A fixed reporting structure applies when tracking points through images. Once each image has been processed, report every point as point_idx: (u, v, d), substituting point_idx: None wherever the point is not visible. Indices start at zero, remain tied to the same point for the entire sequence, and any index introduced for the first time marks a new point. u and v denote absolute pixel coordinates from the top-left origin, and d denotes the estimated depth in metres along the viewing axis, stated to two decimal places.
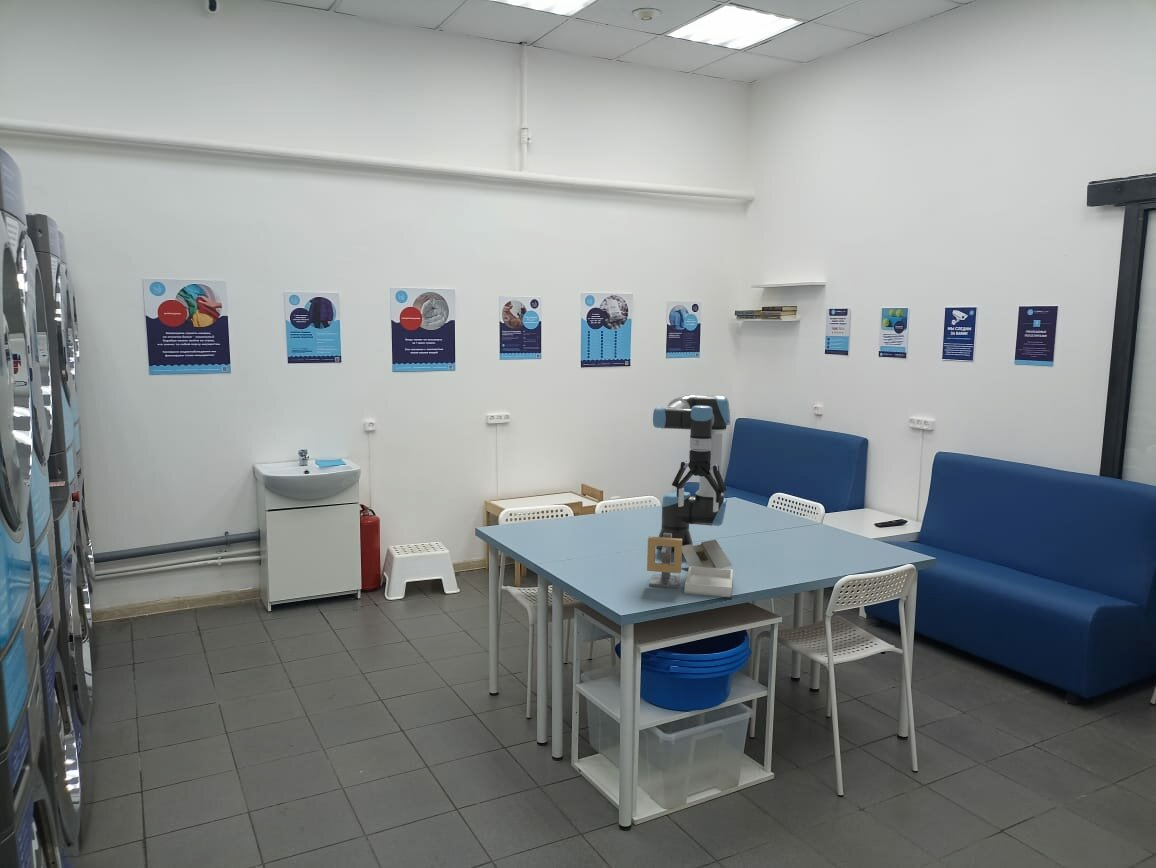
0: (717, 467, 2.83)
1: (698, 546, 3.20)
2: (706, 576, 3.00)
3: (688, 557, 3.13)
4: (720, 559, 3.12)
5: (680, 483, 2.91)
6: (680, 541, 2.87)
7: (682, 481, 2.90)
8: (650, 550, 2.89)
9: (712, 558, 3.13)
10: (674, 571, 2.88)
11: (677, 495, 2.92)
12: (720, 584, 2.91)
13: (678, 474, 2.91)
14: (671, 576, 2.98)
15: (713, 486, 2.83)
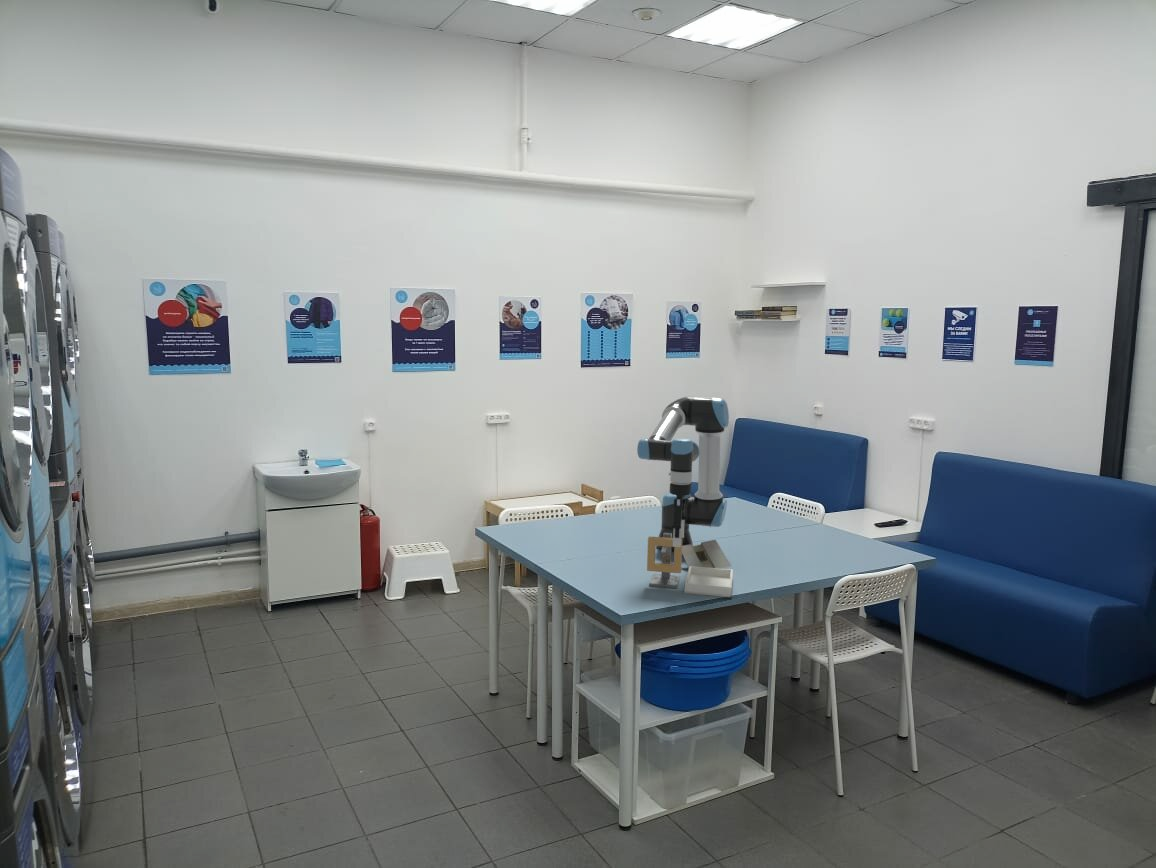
0: (678, 502, 2.79)
1: (697, 546, 3.20)
2: (706, 576, 3.00)
3: (687, 557, 3.13)
4: (719, 559, 3.12)
5: None
6: None
7: None
8: (650, 550, 2.89)
9: (711, 558, 3.13)
10: (674, 571, 2.88)
11: None
12: (720, 584, 2.91)
13: None
14: (671, 576, 2.98)
15: None
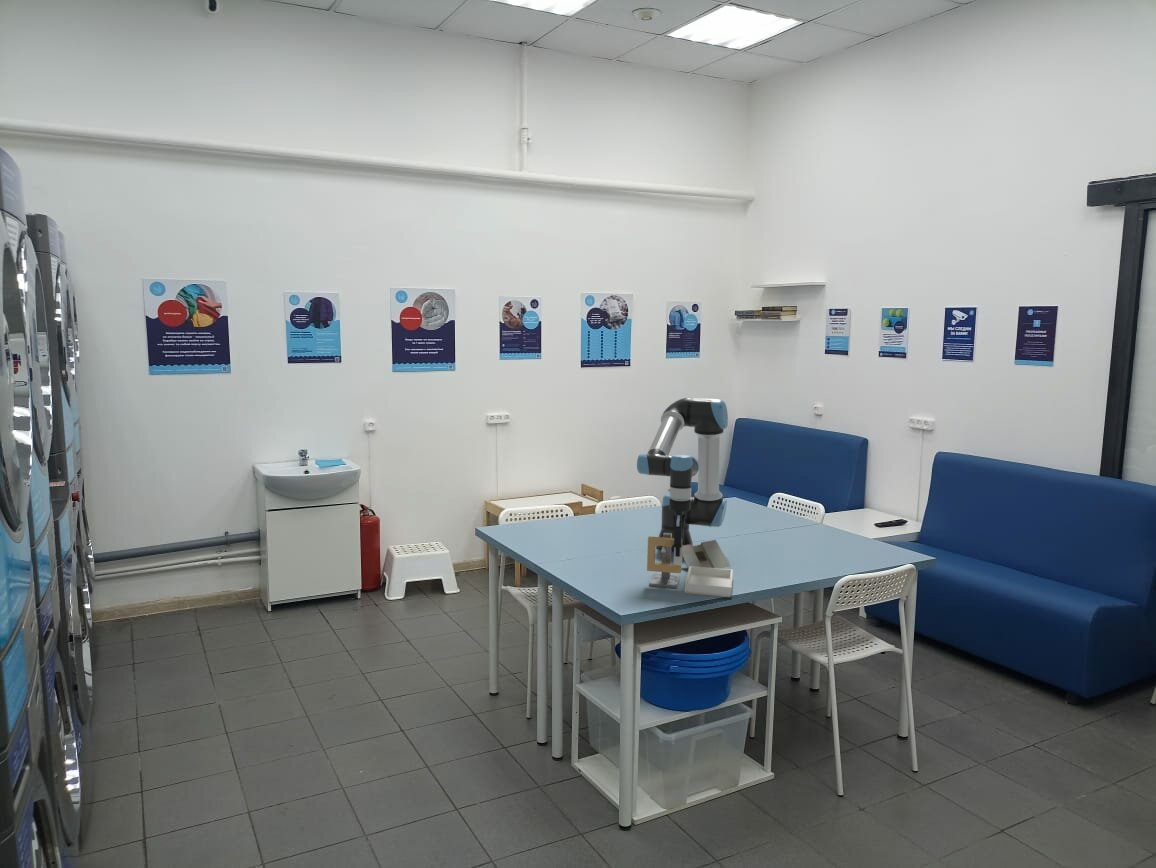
0: (677, 524, 2.81)
1: (697, 546, 3.19)
2: (706, 576, 3.00)
3: (687, 557, 3.13)
4: (719, 559, 3.12)
5: None
6: None
7: None
8: (650, 550, 2.89)
9: (711, 558, 3.12)
10: (674, 571, 2.88)
11: None
12: (720, 584, 2.91)
13: None
14: (671, 576, 2.98)
15: None
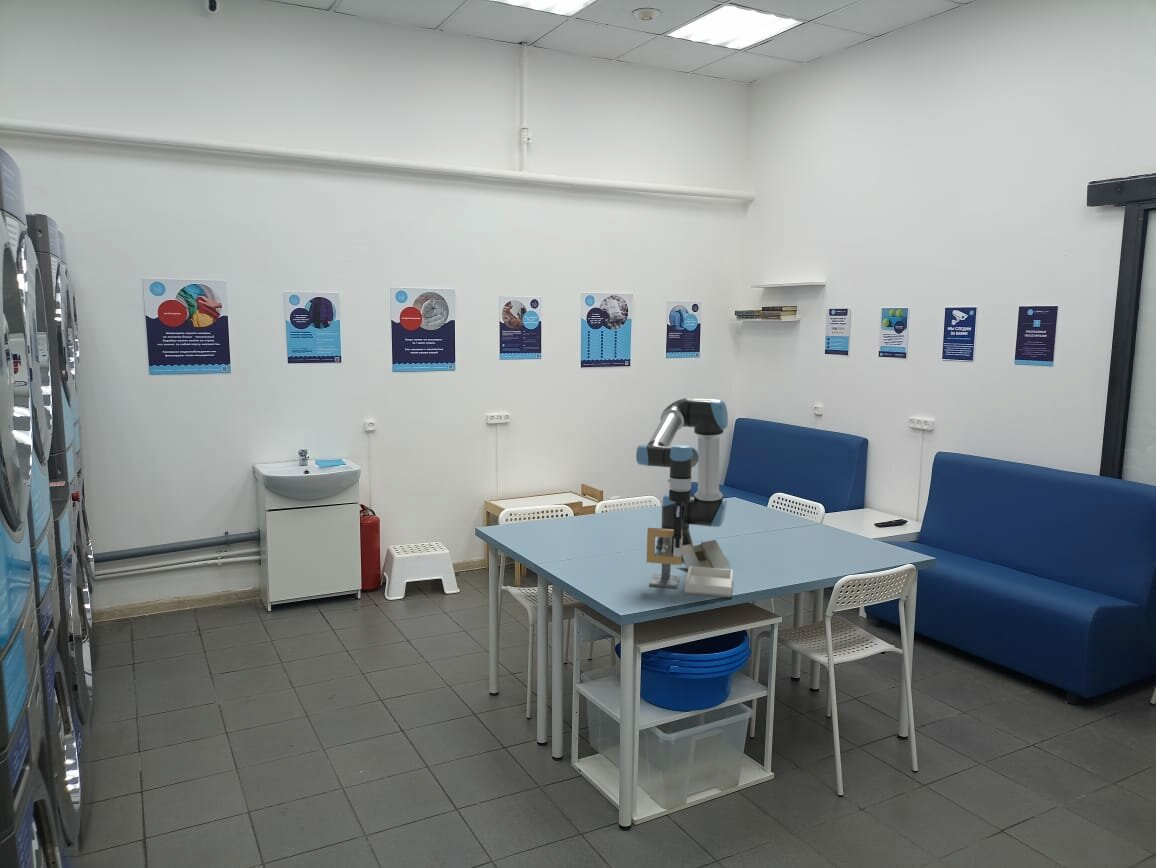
0: (677, 514, 2.78)
1: (697, 546, 3.19)
2: (706, 576, 3.00)
3: (686, 557, 3.13)
4: (718, 559, 3.12)
5: None
6: None
7: None
8: (649, 541, 2.87)
9: (710, 558, 3.12)
10: (674, 562, 2.86)
11: None
12: (720, 584, 2.91)
13: None
14: (671, 576, 2.98)
15: None
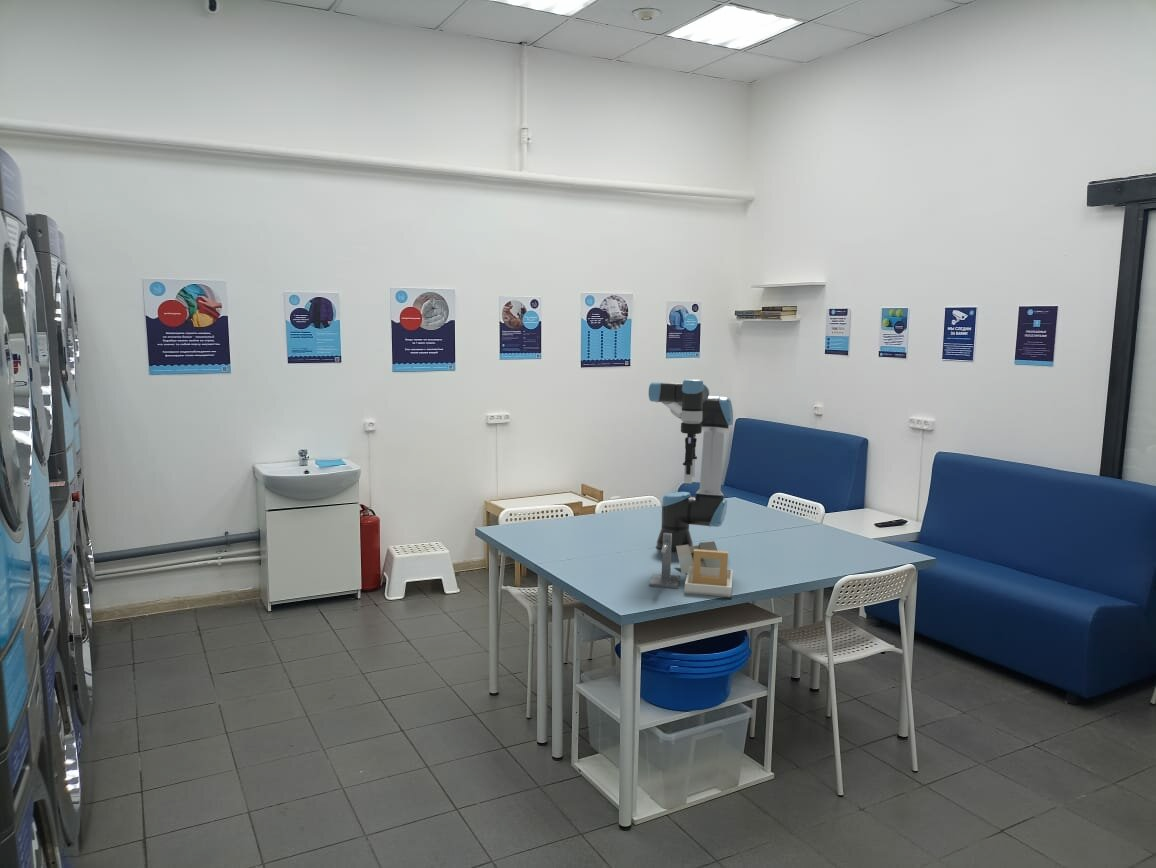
0: (689, 439, 2.88)
1: (695, 547, 3.18)
2: None
3: (681, 557, 3.13)
4: (713, 560, 3.10)
5: None
6: (726, 554, 2.88)
7: None
8: (695, 563, 2.90)
9: (705, 559, 3.11)
10: (720, 584, 2.89)
11: None
12: None
13: None
14: (671, 576, 2.98)
15: None
